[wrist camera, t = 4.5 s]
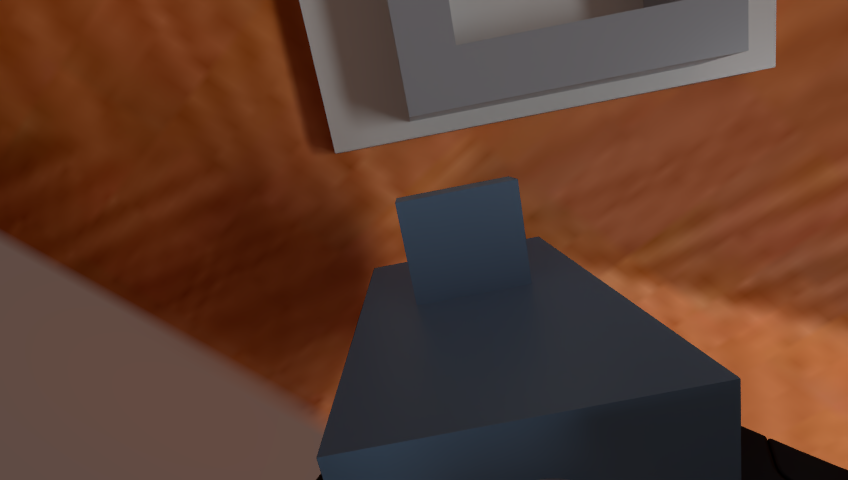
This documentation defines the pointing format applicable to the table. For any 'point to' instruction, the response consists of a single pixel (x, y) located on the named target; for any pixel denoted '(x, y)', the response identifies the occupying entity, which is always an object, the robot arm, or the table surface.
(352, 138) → the plate
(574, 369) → the block
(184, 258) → the table surface
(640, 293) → the table surface
